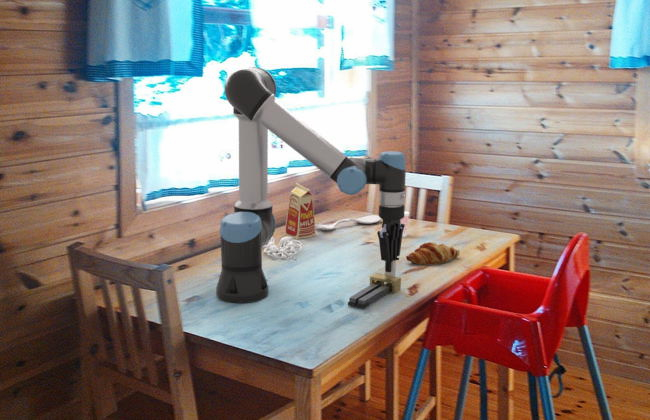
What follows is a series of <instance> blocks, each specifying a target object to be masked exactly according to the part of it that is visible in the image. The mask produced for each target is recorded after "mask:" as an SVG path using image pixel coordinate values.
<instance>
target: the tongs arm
mask: <svg viewBox="0 0 650 420" xmlns="http://www.w3.org/2000/svg"><path fill="white" fill-rule="evenodd" d="M384 283H385V282H382V281H376V282H374V283H373V284H371V285H370V284H369V285H368V286H367V287H365V288H363V289H362V290H359V291H358V292H356V293H355V294H353V295H352V296H350V297H349V300H348V302H347V306H349V307H353V308H357V307H356V306H357V303H358V299H360V298H362V297H363V296H365V295H367V294H369V293H370V292H372V291H374V290H376V289H378V288H379V287H381V286H383V285H384Z"/></svg>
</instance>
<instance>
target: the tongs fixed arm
mask: <svg viewBox="0 0 650 420" xmlns="http://www.w3.org/2000/svg"><path fill="white" fill-rule="evenodd" d="M389 294H392V283H387V282H384V285H383V286H381V287H379V288H378V289H376V290H374V291H372V292H370V293H369V294H367V295H365V296H363V297H362V298H360V299H358V303H357V306H356V307H355V308H358V309H363V310H365V309H366V308H369V307H370V306H371V305H372V304H374V303H376V302H377V301H379V300H381V299H383V298H384V297H386V296H387V295H389Z"/></svg>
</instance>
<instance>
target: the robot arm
mask: <svg viewBox="0 0 650 420" xmlns="http://www.w3.org/2000/svg"><path fill="white" fill-rule="evenodd" d="M224 94H225V97H226V101H227V102H228V103H229V105H231V107H233V109H232V111H233V116H235V117H236V119H237V120H238V200H237V201H235V202H234V205H233V206H234V207H233V213H229V214H226V215H225V216H224V217H223V218H222V219H221V221H220V227H219V234H220V255H221V257H220V258H221V260H220V261H221V272H220V274H219V278H218V281H217V284H216V290H215V291H216V292H215V293H216V295H215V296H216V298H217V299H218V300H220V301H223V302H226V303H233V304H234V303H236V304H237V303H238V304H241V303H242V304H243V303H244V304H246V303H253V302H258V301H261V300H263V299H265V298H267V297H268V295H269V284H268V282H267V279H266V278H267V277H266V276H265V273H264V270H263V265H262V264H263V259H262V258H263V256H262V255H263V254H262V253H263V252H262V251H263V249H262V248H263V246H266V243H267V242H268V241H269V240H270V239H271V237H272V236H273V237H274V234H275V230H276V225H277V222H276V218H275V216H274V214H273V203H272V202H271V201H270V200H269V199H268V183H269V182H268V178H269V177H268V173H269V172H268V170H269V169H268V168H269V167H268V166H269V163H268V162H269V161H268V158H269V157H268V155H269V154H268V153H269V152H268V150H269V148H268V147H269V145H268V142H269V141H268V139H269V138H268V137H269V135H268V133H269V132H268V131H270V132H271V133H272V134H273V135H275V136H276V137H277V138H279V139H280V140H281V141H282V142H283V143H285V144H286V145H288V146H289V147H291V148H292V150H293V151H295V152H297V154H298V155H301V157H303V158H304V159H305V160H307V161H308V162H309V163H311V165H314V167H315V168H317V169H318V170H320V172H322V173H324V175H325V176H327V177H328V178H329V179H331V180H332V181H333V182H334V183H336V184H337V186H338V189H339V190H340V191H341V192H342V193H343V194H345V195H348V196H353V195H356V194H357V195H358V194H359V193H360V192H361V191H363V190H364V189H365V187H366V186H367V185H379V190H378V192H379V193H378V203H379V206H378V216H379V217H380V218H381V220H382V223H381V230H378V231H377V236H378V243H379V251H380V259H381V261H384V275H389V276H394V277H396V269H397V268H396V265H397V263H396V261H399V260H400V256H401V249H402V243H403V242H402V240H403V237H402V234H403V230H404V226H405V225H404V224H401V223H400V222H401V221H400V219H402V218H404V211H406V210H405V208H406V207H405V205H404V204H405V202H406V201H405V200H406V195H405V193H406V173H407V171H406V170H407V167H406V165H407V164H406V163H407V162H406V155H405V153H403V152H401V151H394V150H393V151H391V150H390V151H386V150H385V151H382V152H380V154H379V156H378V157H379V158H363V157H362V158H361V157H359V158H358V157H352V156H351V157H348V156H346V154H344V153H343V152H342V151H340V150H339V149H338V148H337V147H336V146H334V145H333V144H332V143H330V142H329V141H328V140H326V139H325V138H324V137H323V136H322V135H320V134H319V133H318V132H316V131H315V130H314V129H312V128H311V127H310V126H309V125H308V124H307V123H305V122H303V121H302V120H301V119H300V118H299V117H297V116H296V115H295V114H293V112H291V110H288V108H286V107H285V106H284V105H282V104H281V103H279V101H277V100H276V94H277V83H276V79H275V78H274V76H273V75H272V74H271V73H270V71H268V70H266V69H264V68H261V67H256V66H253V67H252V66H250V67H246V68H239V69H237V70H234V71H233V72H231V74H229V76H228V77H227V79H226V81H225V84H224Z"/></svg>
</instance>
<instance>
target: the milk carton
mask: <svg viewBox="0 0 650 420" xmlns="http://www.w3.org/2000/svg"><path fill="white" fill-rule="evenodd" d="M310 191H311V190H310V189H309V188H307V187H304V186H302V185H301V184H299V183H297V182H295V187H294V188H293V189H292V190H291V191H290V196H289V201H288V207H287V212H286V213H287V214H286V221H285V225H284V233H283V235H284V237H287V236H288V237H292V238H293V239H297V240H299V239H307V238H311V237H314V236H315V235H316V227H315V224H316V220H315V209H314V200H313V195H312V193H311V192H310Z"/></svg>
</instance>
